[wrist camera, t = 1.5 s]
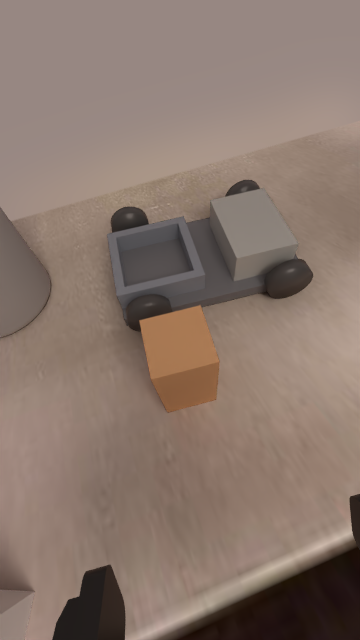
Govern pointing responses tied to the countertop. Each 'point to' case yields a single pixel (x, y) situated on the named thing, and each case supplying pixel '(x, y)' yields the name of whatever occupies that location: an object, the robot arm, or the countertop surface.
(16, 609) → the grater
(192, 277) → the toy car chassis
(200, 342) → the orange rectangular block
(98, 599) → the robot arm
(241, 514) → the countertop surface
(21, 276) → the cylinder vase
